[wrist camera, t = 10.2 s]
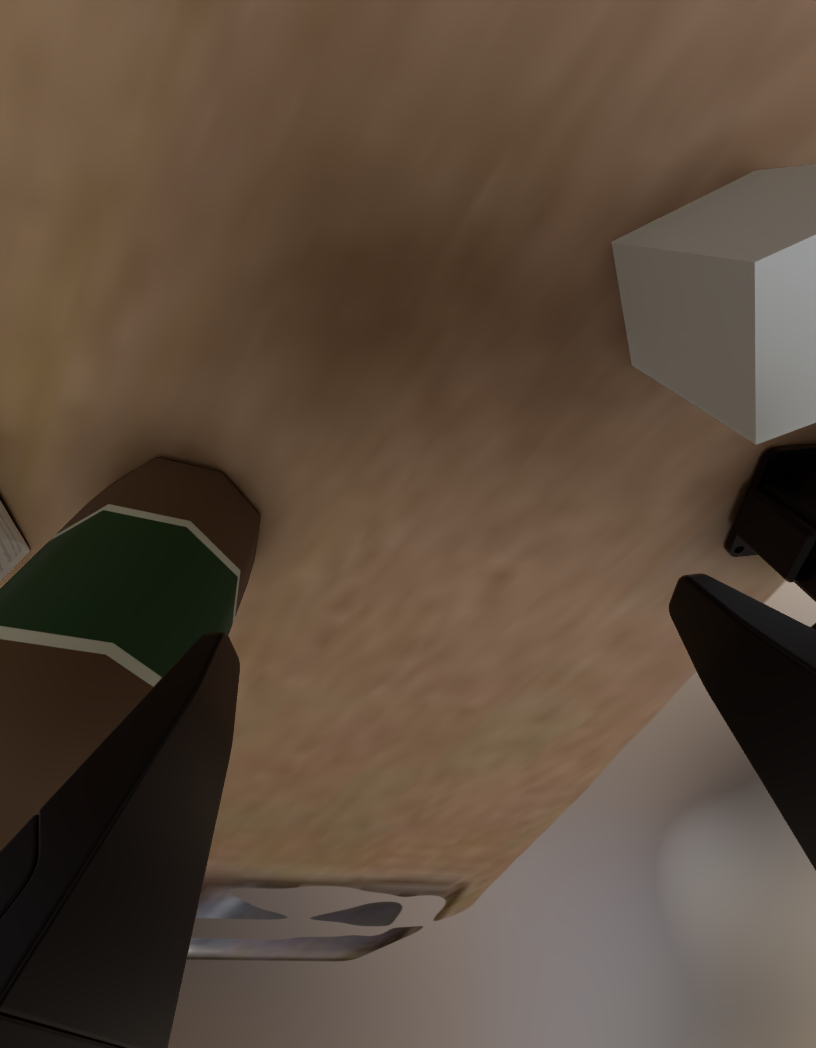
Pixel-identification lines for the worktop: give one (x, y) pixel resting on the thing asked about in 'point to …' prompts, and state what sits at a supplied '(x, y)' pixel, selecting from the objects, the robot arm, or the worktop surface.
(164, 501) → the beer bottle
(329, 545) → the worktop surface
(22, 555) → the skincare box
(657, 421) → the worktop surface
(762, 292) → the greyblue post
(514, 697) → the worktop surface
